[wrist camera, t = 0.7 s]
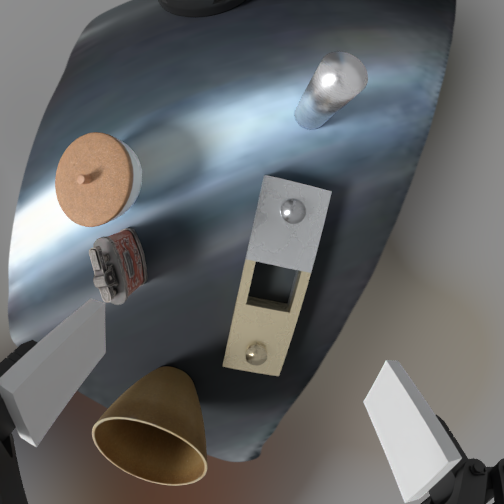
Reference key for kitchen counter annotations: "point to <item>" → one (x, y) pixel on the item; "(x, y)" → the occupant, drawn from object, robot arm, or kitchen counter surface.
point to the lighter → (118, 265)
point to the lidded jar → (97, 179)
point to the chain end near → (288, 225)
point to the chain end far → (262, 327)
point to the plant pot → (156, 430)
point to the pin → (330, 89)
